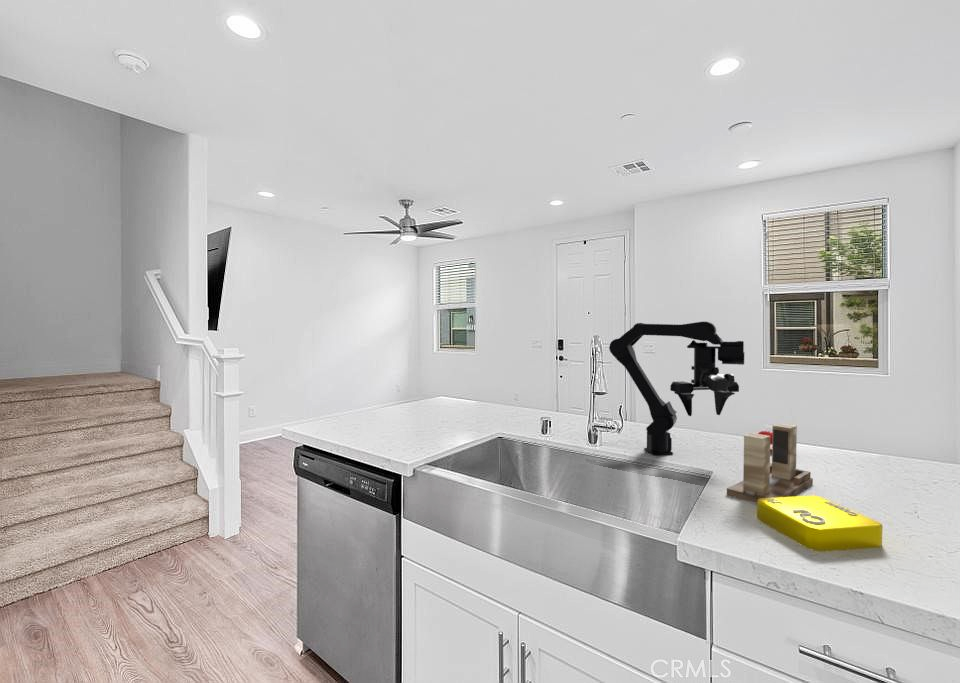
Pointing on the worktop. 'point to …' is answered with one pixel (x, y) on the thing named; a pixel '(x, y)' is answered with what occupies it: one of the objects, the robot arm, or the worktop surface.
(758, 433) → the cap
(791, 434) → the tan wooden upright block
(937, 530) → the worktop surface
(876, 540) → the element tile
